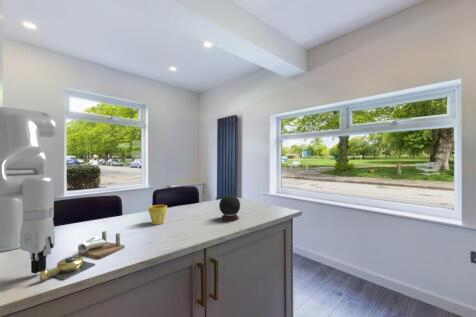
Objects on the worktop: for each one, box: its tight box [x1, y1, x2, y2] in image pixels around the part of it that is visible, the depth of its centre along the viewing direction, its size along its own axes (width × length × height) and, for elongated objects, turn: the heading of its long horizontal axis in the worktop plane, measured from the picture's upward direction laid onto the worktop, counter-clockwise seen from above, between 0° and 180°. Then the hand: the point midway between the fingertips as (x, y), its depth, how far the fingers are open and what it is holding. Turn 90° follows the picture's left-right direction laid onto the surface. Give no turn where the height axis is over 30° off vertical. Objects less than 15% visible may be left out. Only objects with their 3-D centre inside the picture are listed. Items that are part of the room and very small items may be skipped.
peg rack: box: [77, 230, 126, 260], centre depth 89 cm, size 12×11×6 cm
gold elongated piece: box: [39, 255, 84, 281], centre depth 72 cm, size 7×12×3 cm, turn 159°
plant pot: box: [148, 204, 168, 226], centre depth 128 cm, size 10×10×10 cm
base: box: [51, 260, 96, 281], centre depth 74 cm, size 10×10×1 cm
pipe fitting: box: [77, 235, 107, 253], centre depth 88 cm, size 8×4×7 cm
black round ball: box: [218, 194, 241, 222], centre depth 137 cm, size 13×13×15 cm
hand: (38, 271), depth 71 cm, fingers closed
